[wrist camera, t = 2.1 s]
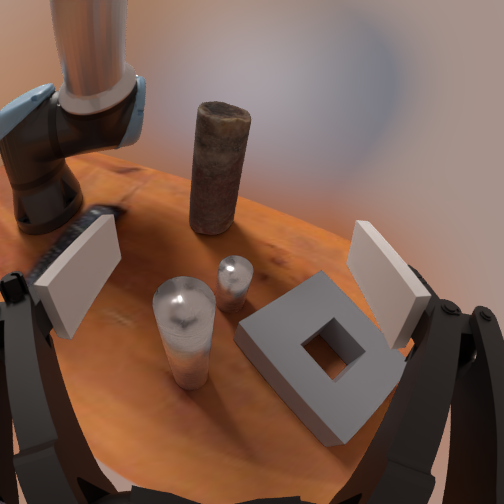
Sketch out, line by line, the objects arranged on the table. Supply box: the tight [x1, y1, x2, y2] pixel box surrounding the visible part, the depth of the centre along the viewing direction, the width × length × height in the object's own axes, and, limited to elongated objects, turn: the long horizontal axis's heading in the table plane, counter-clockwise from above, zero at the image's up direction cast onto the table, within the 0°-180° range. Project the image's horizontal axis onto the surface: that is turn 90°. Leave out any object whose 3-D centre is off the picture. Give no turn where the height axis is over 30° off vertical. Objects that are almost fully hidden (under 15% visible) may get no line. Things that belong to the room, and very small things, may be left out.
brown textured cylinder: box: [189, 101, 251, 235], centre depth 39 cm, size 8×7×20 cm
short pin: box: [215, 255, 253, 313], centre depth 34 cm, size 4×4×7 cm
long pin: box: [153, 276, 216, 390], centre depth 23 cm, size 4×4×17 cm
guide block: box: [233, 270, 407, 447], centre depth 31 cm, size 18×14×5 cm
